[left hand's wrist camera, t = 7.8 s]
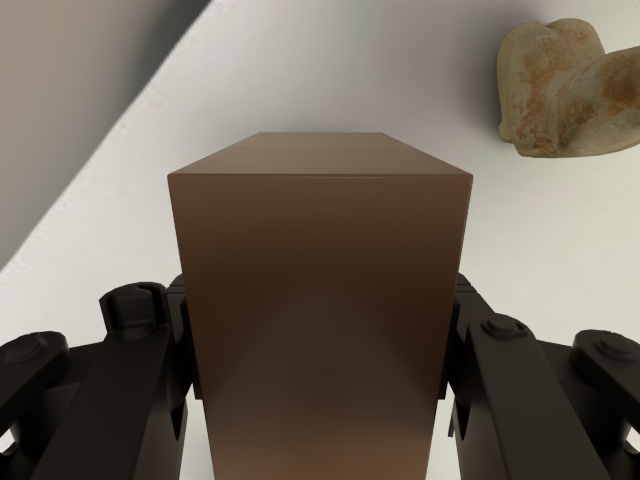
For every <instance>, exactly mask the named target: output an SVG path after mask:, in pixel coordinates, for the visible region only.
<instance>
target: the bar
mask: <svg viewBox="0 0 640 480" xmlns="http://www.w3.org/2000/svg"><path fill="white" fill-rule="evenodd" d="M167 179H168V185H169V192H170V198H171V204H172V211H173V217H174V223H175V230H176V236H177V242H178V249H179V255H180V261H181V268H182V274H183V280H184V287H185V293H186V299H187V306H188V312H189V318H190V325H191V331H192V337H193V344H194V350H195V356H196V363H197V369H198V375H199V382H200V388H201V394H202V401H203V407H204V413H205V420H206V426H207V432H208V439H209V445H210V451H211V458H212V464H213V471H214V477H215V480H425V479H426V473H427V466H428V460H429V454H430V447H431V441H432V435H433V428H434V422H435V416H436V410H437V403H438V397H439V391H440V384H441V378H442V372H443V365H444V359H445V353H446V347H447V340H448V334H449V328H450V321H451V315H452V309H453V302H454V296H455V290H456V283H457V277H458V271H459V265H460V258H461V252H462V246H463V239H464V233H465V227H466V220H467V214H468V208H469V201H470V195H471V189H472V183H473V175H472V174H470V173H468V172H466V171H463V170H461V169H459V168H457V167H455V166H453V165H450V164H448V163H446V162H444V161H442V160H440V159H437V158H435V157H433V156H431V155H429V154H426V153H424V152H422V151H420V150H418V149H416V148H413V147H411V146H409V145H407V144H405V143H403V142H400V141H398V140H396V139H394V138H392V137H390V136H387V135H385V134H383V133H257V134H255V135H253V136H251V137H249V138H246V139H244V140H242V141H240V142H238V143H236V144H233V145H231V146H229V147H227V148H225V149H223V150H220V151H218V152H216V153H214V154H212V155H210V156H207V157H205V158H203V159H201V160H199V161H197V162H194V163H192V164H190V165H188V166H186V167H184V168H181V169H179V170H177V171H175V172H173V173H171V174H168V176H167Z"/></svg>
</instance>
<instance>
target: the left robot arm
mask: <svg viewBox="0 0 640 480" xmlns="http://www.w3.org/2000/svg"><path fill="white" fill-rule="evenodd" d="M99 303H100V307H101V311H102V314H103V318H104V322H105V326H106V330H107V335H106V337H105V339H104V340H103V341H102V342H98V343H93V344H88V345H83V346H77V347H72V348H69V347H68V344H67V341H66V338H65V336H64V335H63V334H61V333H60V332H53V331H45V332H34V333H30V334H29V335H28V334H26V335H23V336H20V337H18V338H17V339H14V340H12V341H10V342H7V343H6V344H4V345H2V346H1V347H0V438H1V437H2V435H3V434H4V433H5V432H6V431H7V430H8V429H9V428H10V431H11V433H12V435H13V438H14V440H15V441H14V442H13V444H12V445H11V446H10V447H9V448H8V449H6V450H5V451H4V452H3V453H0V480H179V476H180V469H181V461H182V454H183V446H184V439H185V431H186V424H187V416H188V410H187V403H186V395H187V393H188V391H189V389H190V386H191V384H192V383H193V389H194V395H195V400H202V394H201V388H200V382H199V375H198V369H197V363H196V356H195V350H194V344H193V337H192V331H191V325H190V318H189V312H188V306H187V299H186V293H185V287H184V280H183V274H180V275H179V276H177V277H176V278H175V279H174V281H173V282H172V283H171V284H170V287H168V288H167V289H166V287H164V286H163V285H162V284H160V283H155V282H138V283H132V284H127V285H124V286H121V287H118V288H115V289H113V290H112V291H110V292H108V293H106V294H105V295H104V296H103V297H101V298H100V299H99ZM448 382H449V384H450V386H451V388H452V390H453V393H454V395H455V397H454V403H453V409H452V414H451V420H450V425H449V431H448V437H453V433H454V430H455V438H456V445H457V453H458V460H459V468H460V475H461V480H640V452H638V451H637V450H636V449H635V448H634V447H633V446H632V445H631V444H630V443H629V442H628V441H627V440H626V439H627V436H628V434H629V432H630V429H631V427H633V428H634V429H635V430H636V431H637V432H638V433H639V434H640V344H638V343H637V342H635V341H633V340H631V339H628V338H626V337H624V336H622V335H620V334H617V333H614V332H613V333H611V332H610V331H605V330H592V329H590V330H583V331H580V332H579V333H577V334H576V336H575V339H574V342H573V345H572V346H566V345H561V344H556V343H550V342H545V341H541V340H537V339H536V338H535V336H534V334H533V332H532V331H531V330H530V329H529V328H528V327H527V326H526V325H525V324H523V323H522V322H520V321H519V320H517V319H514V318H512V317H509V316H507V315H503V314H499V313H495V312H494V311H493V310H492V309H491V307H490V306H489V305H488V304H487V303H486V301H485V300H484V299H483V298H482V297H481V295H480V294H479V293H477V291H476V289H475V288H474V287H473V286H471V284H470V282H469V281H468V280H467V279H466V278H465V276H464V275H462V274H460V273H459V272H458V277H457V283H456V290H455V296H454V302H453V309H452V315H451V321H450V328H449V334H448V340H447V347H446V353H445V359H444V365H443V372H442V378H441V384H440V391H439V397H438V400H445V396H446V390H447V384H448Z"/></svg>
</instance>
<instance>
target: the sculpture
mask: <svg viewBox="0 0 640 480" xmlns="http://www.w3.org/2000/svg"><path fill="white" fill-rule="evenodd" d="M497 82H498V93H499V100H500V105H501V113H502V122H501V123H500V124H499V126H498V132H499V136H500V138H501V140H503V141H504V142H508V143H514V145H515V148H516V150H517V152H518V154H520V155H521V156H523V157H533V158H573V157H587V156H598V155H603V154H609V153H614V152H618V151H622V150H625V149H628V148H631V147H633V146H636V145H638V144H640V46H637V47H633V48H629V49H624V50H619V51H615V52H612V53H608V54H605V51H604V49H603V46H602V44H601V42H600V39H599V37H598V35H597V32H596V31H595V29H594V28H593V26H592V25H590V24H589V23H588V22H585V21H583V20H579V19H568V18H567V19H560V20H557V21H555V22H552V23H550V24H548V25H547V26H546V27H545V26H543V25H541V24H539V23H538V22H529V23H522V24H520V25H518V26H517V27H515V28H514V29H512V30H511V31H510V32H509V33H508V34H507V35H506V37H505V38H504V40H503V42H502V44H501V47H500V49H499V52H498V57H497Z"/></svg>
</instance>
